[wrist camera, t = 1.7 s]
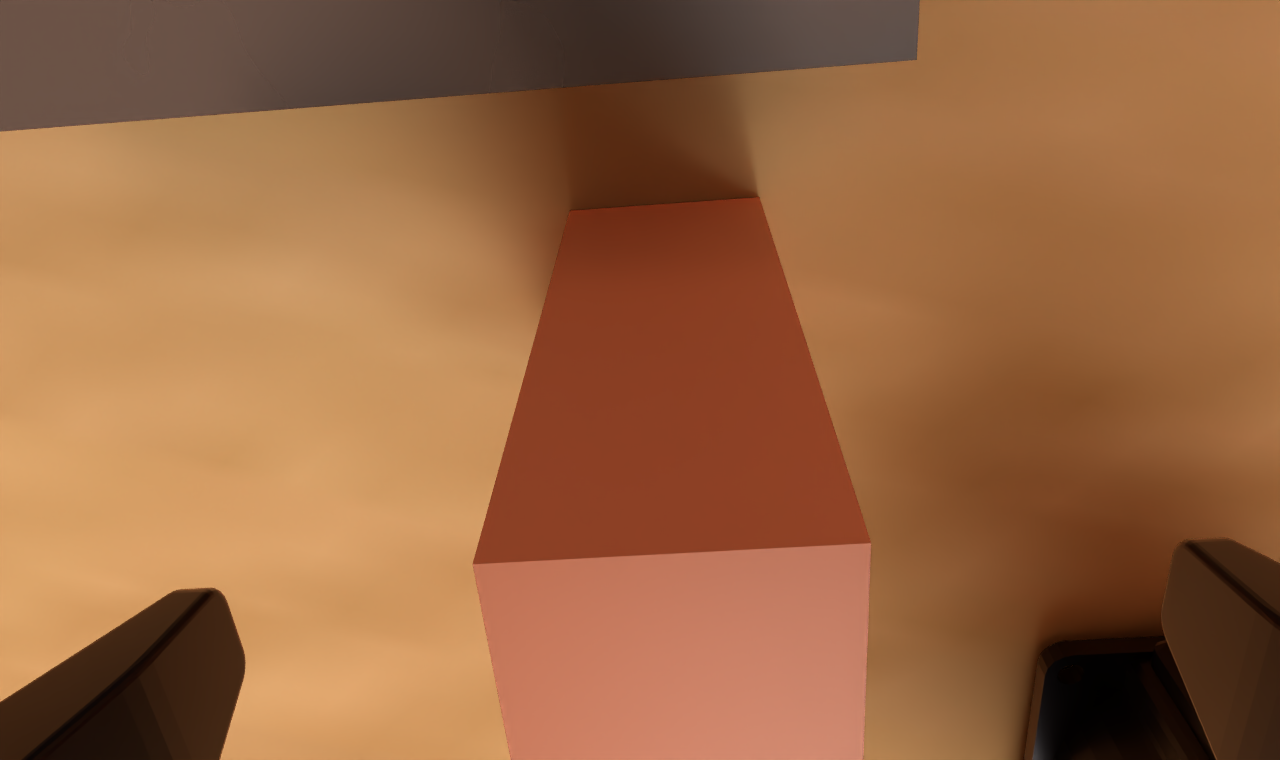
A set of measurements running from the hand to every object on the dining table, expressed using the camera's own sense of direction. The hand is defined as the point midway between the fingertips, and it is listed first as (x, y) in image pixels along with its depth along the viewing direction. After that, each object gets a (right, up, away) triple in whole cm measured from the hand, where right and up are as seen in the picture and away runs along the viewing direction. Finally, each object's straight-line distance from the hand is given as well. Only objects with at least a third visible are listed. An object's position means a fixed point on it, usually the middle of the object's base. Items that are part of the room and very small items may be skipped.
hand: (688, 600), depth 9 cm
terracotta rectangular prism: (0, +4, +7) cm, 8 cm away
